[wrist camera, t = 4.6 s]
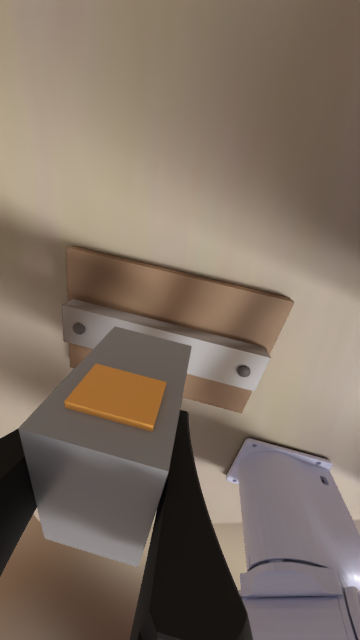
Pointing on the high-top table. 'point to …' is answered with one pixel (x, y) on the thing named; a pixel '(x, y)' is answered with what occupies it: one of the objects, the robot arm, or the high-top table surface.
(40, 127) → the high-top table surface
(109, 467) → the block
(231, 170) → the high-top table surface
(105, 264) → the rail board
